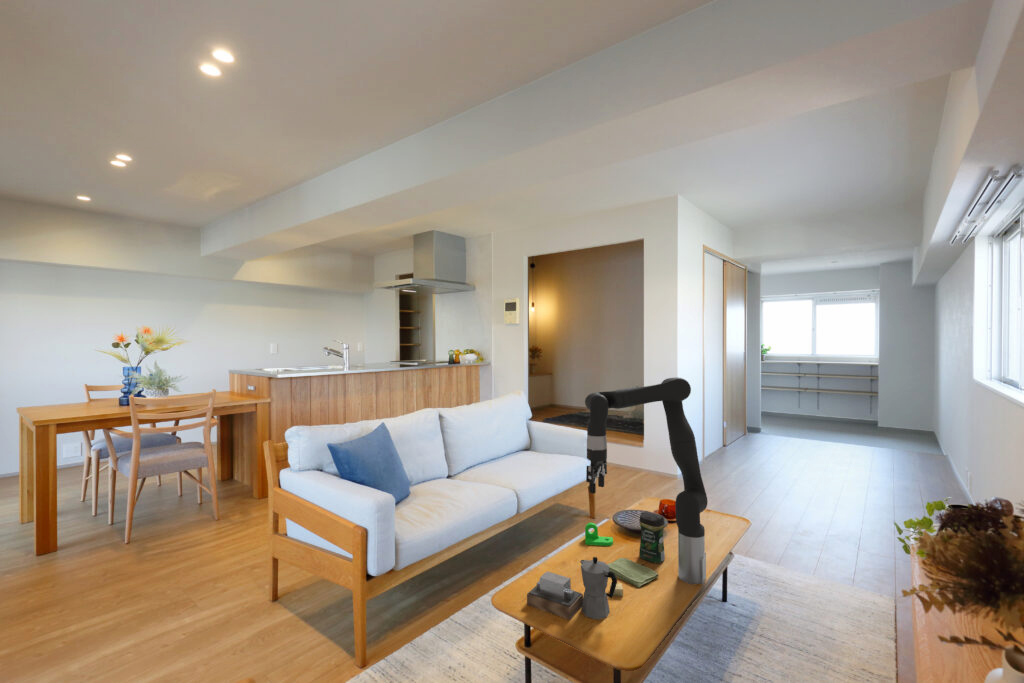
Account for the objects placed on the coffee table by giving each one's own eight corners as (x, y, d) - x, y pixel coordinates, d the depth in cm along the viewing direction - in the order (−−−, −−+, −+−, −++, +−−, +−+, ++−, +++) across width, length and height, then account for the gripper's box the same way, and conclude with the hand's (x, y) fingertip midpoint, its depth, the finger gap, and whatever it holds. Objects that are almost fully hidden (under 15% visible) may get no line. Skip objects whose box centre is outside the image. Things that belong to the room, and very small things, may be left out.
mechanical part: (585, 546, 204) (585, 527, 204) (585, 540, 210) (585, 522, 210) (613, 547, 202) (613, 529, 202) (612, 541, 208) (612, 523, 208)
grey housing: (541, 584, 164) (541, 569, 164) (576, 594, 157) (576, 579, 157) (534, 590, 159) (534, 575, 159) (569, 601, 152) (569, 586, 152)
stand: (583, 605, 158) (582, 592, 158) (570, 620, 149) (570, 607, 149) (541, 592, 167) (541, 579, 167) (526, 605, 158) (526, 592, 158)
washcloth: (640, 591, 168) (640, 582, 168) (601, 572, 181) (601, 564, 181) (660, 578, 176) (660, 570, 176) (621, 562, 190) (621, 554, 190)
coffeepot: (570, 608, 156) (570, 554, 156) (589, 598, 162) (589, 546, 162) (607, 630, 145) (606, 572, 144) (626, 618, 150) (626, 562, 150)
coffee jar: (636, 558, 192) (636, 512, 192) (646, 552, 198) (645, 507, 197) (658, 566, 185) (657, 519, 185) (667, 559, 191) (667, 513, 191)
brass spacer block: (621, 591, 167) (621, 583, 167) (623, 598, 163) (622, 589, 163) (610, 591, 167) (610, 582, 167) (611, 597, 163) (611, 588, 163)
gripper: (594, 442, 184) (595, 483, 184) (579, 449, 172) (579, 493, 172) (613, 444, 180) (613, 486, 180) (598, 451, 168) (599, 497, 168)
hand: (597, 489), depth 176 cm, fingers open, 8 cm apart
